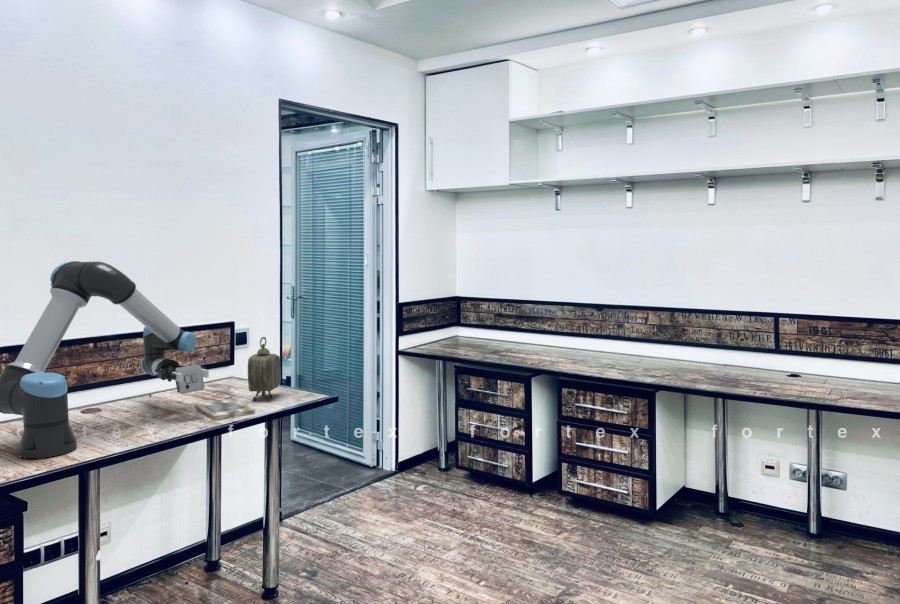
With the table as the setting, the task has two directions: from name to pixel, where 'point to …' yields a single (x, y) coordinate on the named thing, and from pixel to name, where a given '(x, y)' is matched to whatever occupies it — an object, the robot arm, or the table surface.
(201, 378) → the electrical switch
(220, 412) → the mounting board
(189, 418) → the table surface
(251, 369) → the tabletop clock
